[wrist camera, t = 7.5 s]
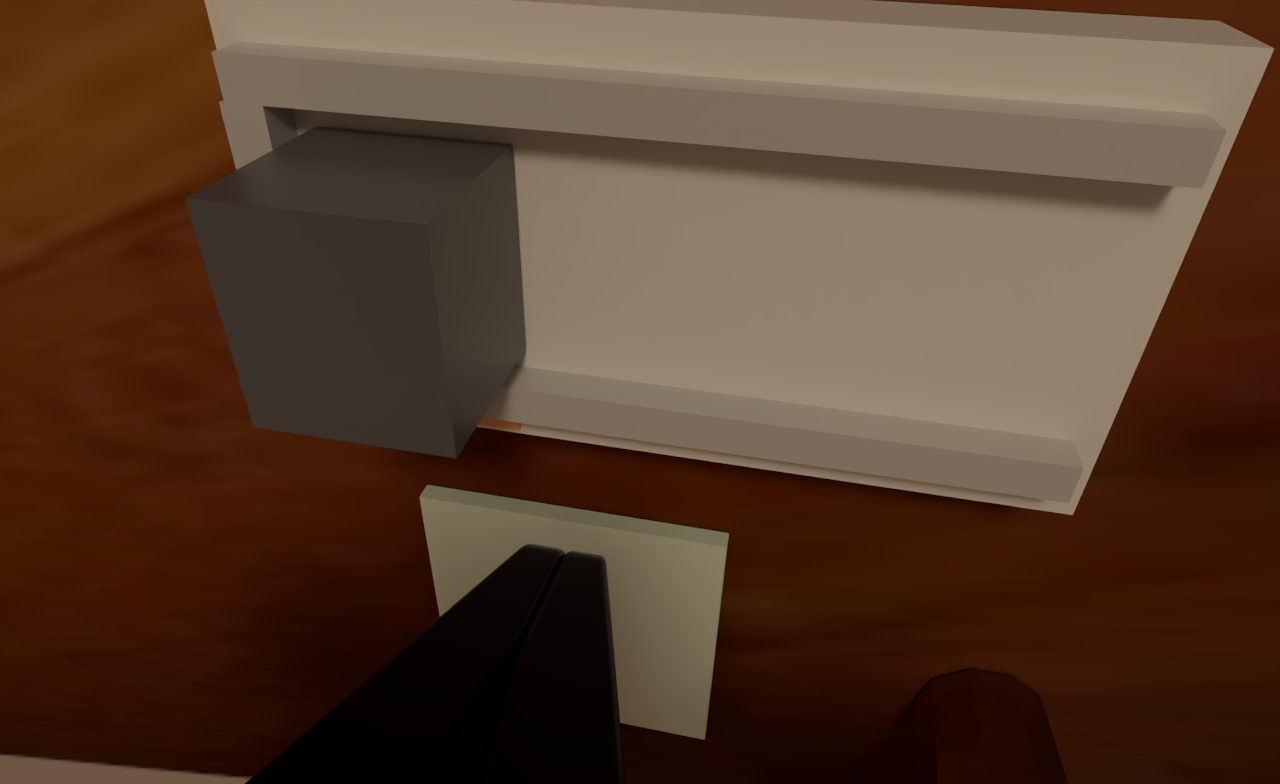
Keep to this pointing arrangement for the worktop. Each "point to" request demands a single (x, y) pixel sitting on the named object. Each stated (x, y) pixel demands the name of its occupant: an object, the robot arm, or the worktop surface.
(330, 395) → the switch tab
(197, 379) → the worktop surface
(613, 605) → the mat
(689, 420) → the switch panel
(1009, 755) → the milkshake
